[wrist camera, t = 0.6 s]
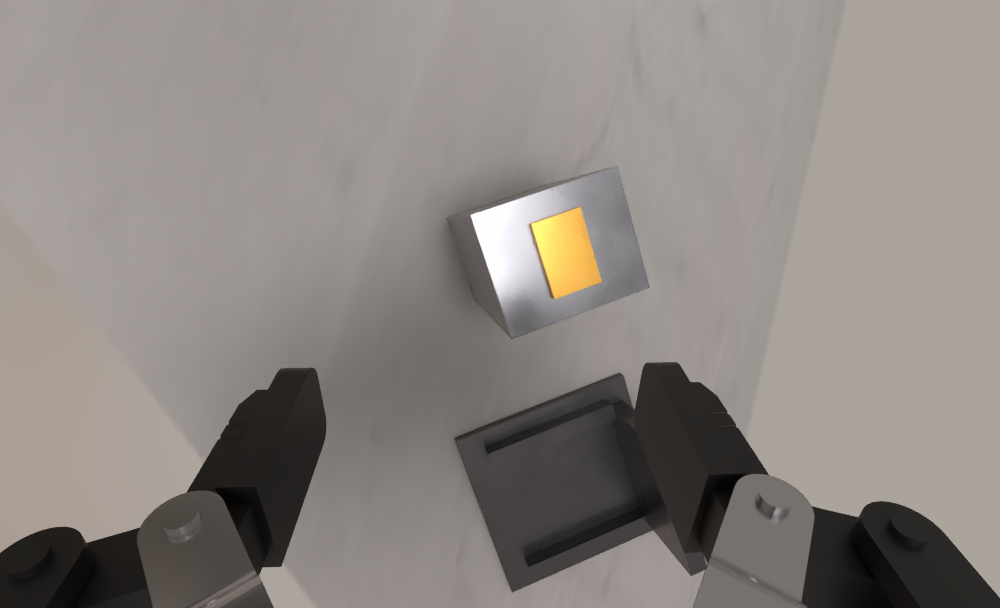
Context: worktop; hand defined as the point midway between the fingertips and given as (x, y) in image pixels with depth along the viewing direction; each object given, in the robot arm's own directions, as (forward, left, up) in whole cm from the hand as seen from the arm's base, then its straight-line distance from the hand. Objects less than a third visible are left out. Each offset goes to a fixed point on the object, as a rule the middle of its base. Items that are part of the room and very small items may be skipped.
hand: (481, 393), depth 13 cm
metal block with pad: (-3, +4, -17) cm, 18 cm away
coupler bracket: (+12, +8, -17) cm, 22 cm away
